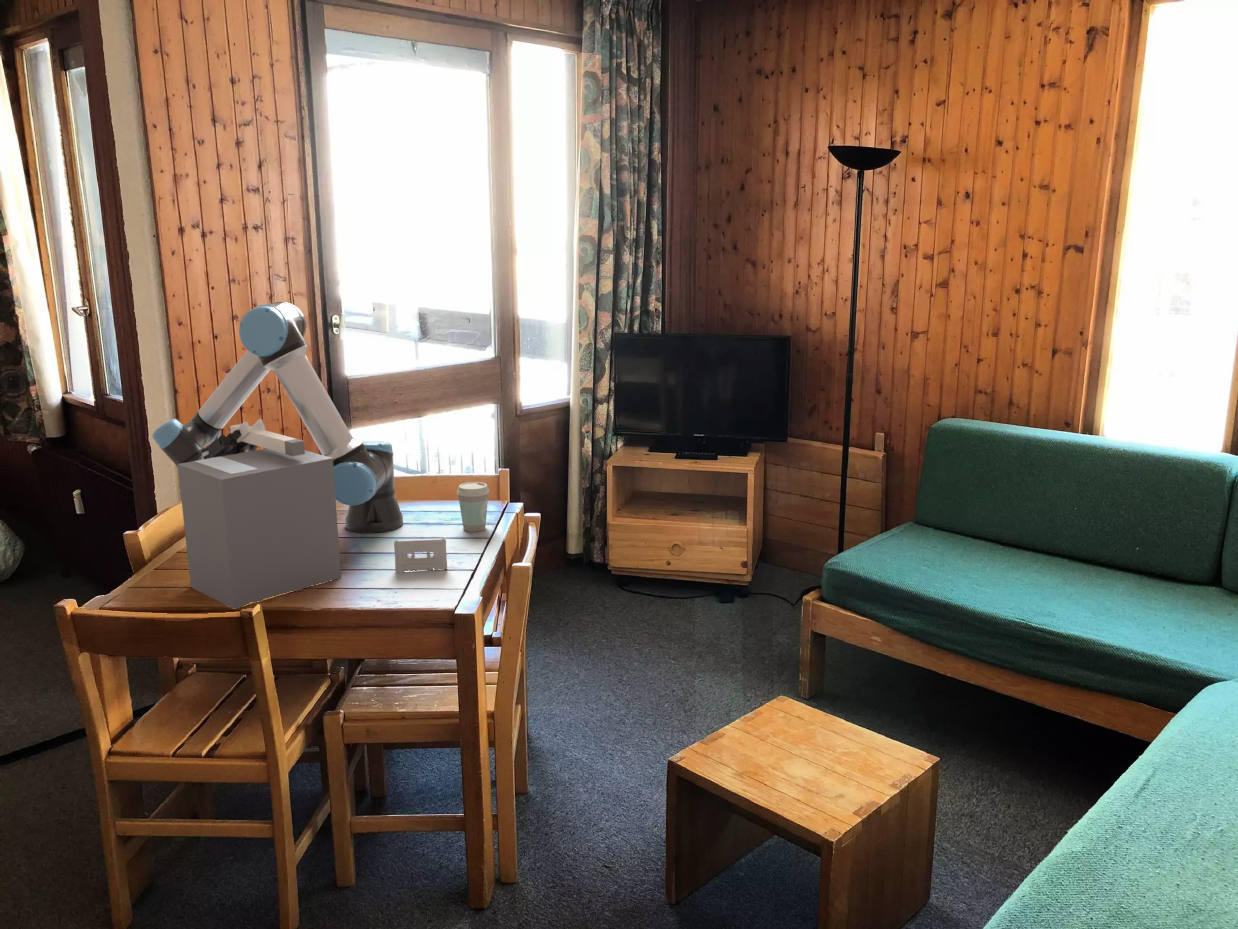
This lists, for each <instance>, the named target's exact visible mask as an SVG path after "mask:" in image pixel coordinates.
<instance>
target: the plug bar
mask: <svg viewBox="0 0 1238 929" xmlns="http://www.w3.org/2000/svg"><path fill="white" fill-rule="evenodd" d="M241 424H242V423H239V424H233V425H230V426H229V429H230V433H233V432H234V431H235V430H236V429H237V428H238V427H239V426H240V425H241ZM249 428H250V431H251V432H250V433H249V434H248V435H247V436H246V437H245V438H244V439H243V440H242V442H246V443H249V444H253V445H256V446H258V447H260V448H262V449H270V450H273V451H276V452H280V453H283V454H286V455H290V456H297V455H302V454H305V450H306V449H305V440H301V439H299V438H294V437H291V436H288V435H283V434H280V433H276V432H273V431H269V430H262V429H258V428H255V427H252V426H251V425H249Z"/></svg>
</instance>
